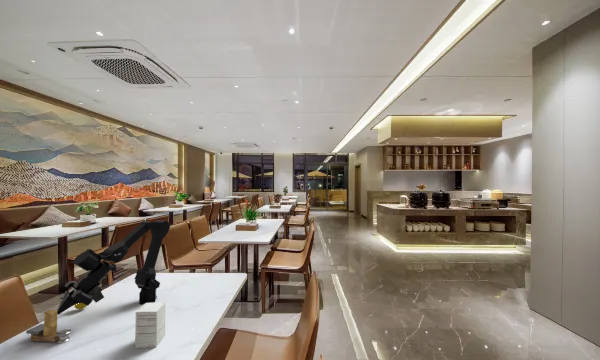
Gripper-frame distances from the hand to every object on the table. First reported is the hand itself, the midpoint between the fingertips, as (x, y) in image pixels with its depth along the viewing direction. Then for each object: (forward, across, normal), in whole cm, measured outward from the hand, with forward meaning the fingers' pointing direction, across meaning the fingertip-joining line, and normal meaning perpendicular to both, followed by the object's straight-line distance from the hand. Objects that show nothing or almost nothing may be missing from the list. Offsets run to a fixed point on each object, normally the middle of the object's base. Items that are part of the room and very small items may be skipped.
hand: (57, 313), depth 94 cm
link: (+7, 0, -4) cm, 8 cm away
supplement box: (-9, -30, -22) cm, 38 cm away
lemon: (-1, +20, -14) cm, 24 cm away
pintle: (+5, -5, -7) cm, 10 cm away
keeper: (+9, +4, -3) cm, 10 cm away
